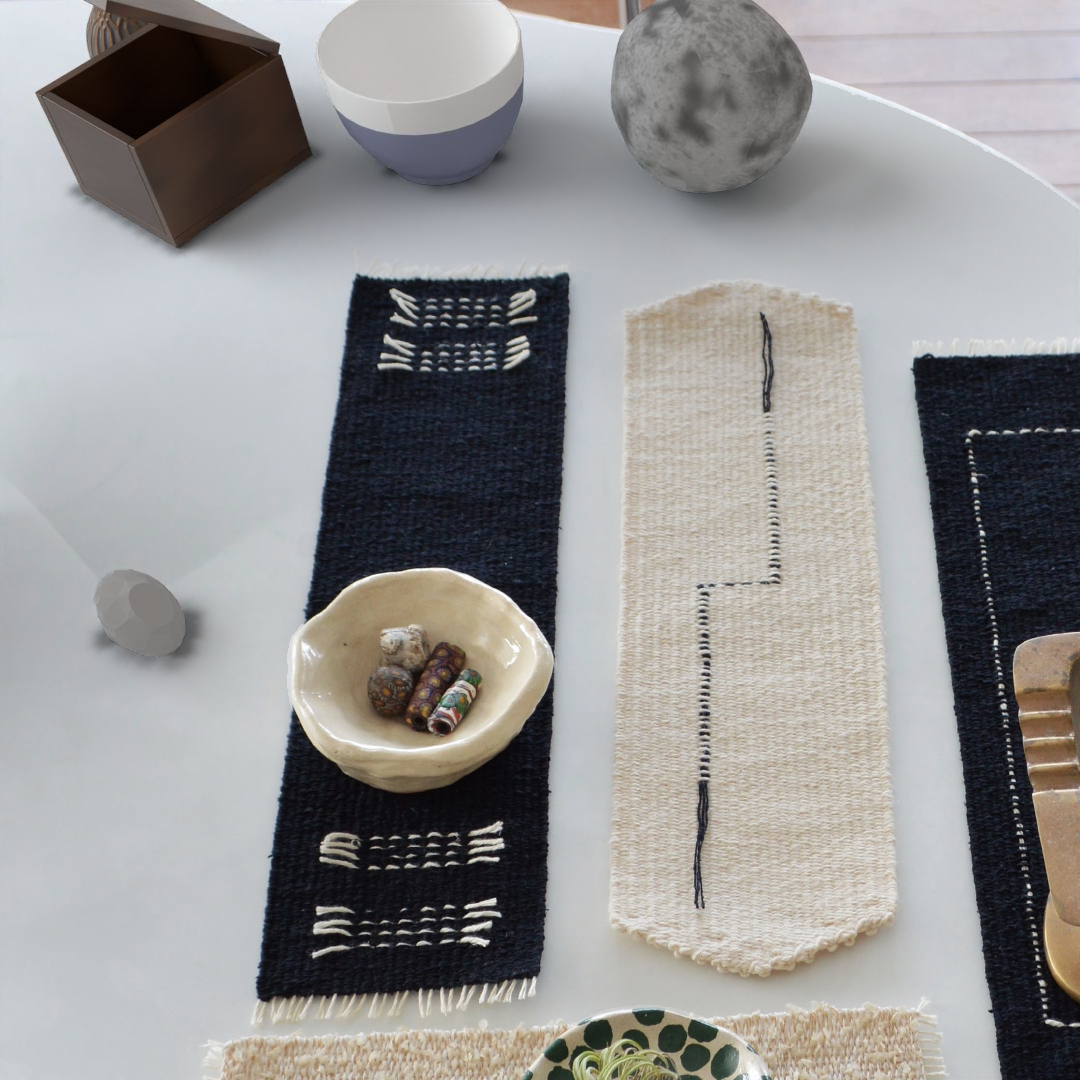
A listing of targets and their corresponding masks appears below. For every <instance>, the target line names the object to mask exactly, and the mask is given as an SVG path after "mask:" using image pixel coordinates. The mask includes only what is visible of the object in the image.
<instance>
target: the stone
mask: <svg viewBox="0 0 1080 1080" xmlns="http://www.w3.org/2000/svg"><path fill="white" fill-rule="evenodd" d="M610 81H611V83H610V104H611V105H610V106H611V110H612V114H613V117H614V120H615V122H616V125H617V127H618V130H619V132H620V135H621V137H622V139H623V141H624V143H625V145H626V147H627V149H628V150H629V152H630V154H631V156H633V158H634V159H635V161H636V162H637V164H638V165H639V166H640V167H641V168H642V169H643V170H644V171H645V172H647V173H648V174H649V175H650V176H652V177H653V179H655V180H656V181H658V182H660V183H661V184H663V185H665V186H666V187H668V188H670V189H672V190H676V191H681V192H687V193H697V194H705V193H707V194H708V193H716V192H717V193H718V192H723V191H729V190H734V189H738V188H740V187H743V186H746V185H747V184H750V183H752V182H755V181H756V180H757V181H758V179H760V178H762V177H763V176H765V175H766V174H768V173H769V172H770V171H771V170H773V169H774V168H775V167H777V166H778V165H779V164H780V162H781V161H782V160H783V159H784V158H785V157H786V156H787V154H788V153H789V152H790V150H791V149H792V147H793V146H794V144H795V142H796V141H797V138H798V137H799V135H800V134H801V131H802V129H803V126H804V124H805V122H806V120H807V117H808V114H809V111H810V108H811V106H812V101H813V93H814V92H813V91H814V88H813V82H812V77H811V74H810V72H809V69H808V66H807V64H806V60H805V59H804V57H803V54H802V51H801V50H800V49H799V47H798V45H797V44H796V42H795V41H794V39H793V38H792V37H791V36H790V34H789V33H788V31H786V29H785V28H784V27H783V26H782V25H781V24H780V23H779V22H778V21H777V20H776V18H775V17H773V15H771V14H770V13H769V12H768V11H766V10H765V8H763V7H762V6H760V5H759V4H758V3H757V2H755V1H754V0H655V1H653V2H652V3H651V4H649V5H648V6H647V7H645V8H643V9H642V10H641V11H640V12H639V13H638V14H637V15H636V16H635V17H634V18H633V19H631V20H630V22H628V24H627V26H625V28H624V29H623V31H622V33H621V35H620V36H619V39H618V42H617V45H616V49H615V54H614V58H613V63H612V70H611V80H610Z"/></svg>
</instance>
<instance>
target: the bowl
mask: <svg viewBox="0 0 1080 1080" xmlns="http://www.w3.org/2000/svg"><path fill="white" fill-rule="evenodd" d="M318 35H319V36H318V38H317V41H316V43H315V53H314V56H315V57H314V58H315V62H316V65H317V70H318V72H319V75H320V78H321V80H322V83H323V86H324V88H325V91H326V93H327V96H328V99H329V101H330V102H331V104H332V106H333V108H334V110H335V111H336V114H337V115H338V117H339V119H340V121H341V123H342V126H344V128H345V130H346V131H347V133H348V135H350V137H351V138H352V139H354V141H355V142H356V143H357V144H358V145H359V146H360V147H361V148H362V149H363V150H364V151H365V152H366V153H367V154H368V155H369V156H370V157H372V159H374V160H375V161H376V162H378V163H379V164H381V165H383V166H384V167H386V168H388V169H391V170H393V171H394V172H395V173H396V174H398V175H399V176H400V177H402V178H404V179H406V180H407V181H410V182H413V183H416V184H421V185H429V186H444V185H445V186H446V185H452V184H457V183H461V182H464V181H466V180H469V179H471V178H473V177H475V176H477V175H479V174H480V173H482V172H484V171H485V170H486V169H487V168H488V167H490V165H491V164H492V163H493V161H494V160H495V158H496V156H497V153H499V151H500V150H501V149H502V148H503V147H504V146H505V145H506V144H507V142H508V140H509V139H510V138H511V136H512V133H513V130H514V128H515V125H516V123H517V120H518V117H519V114H520V112H521V108H522V106H523V101H524V81H525V80H524V79H525V77H524V76H525V60H524V49H523V48H524V47H523V39H522V30H521V27H520V24H519V22H518V20H517V17H516V16H515V14H513V12H512V11H511V10H510V9H509V7H507V5H505V4H504V3H503V2H501V1H500V0H355V1H353V2H351V3H350V4H348V5H347V6H345V7H344V8H342V9H340V10H339V11H338V12H336V14H335V15H334V16H332V17H331V18H330V19H329V20H328V21H327V23H326V24H325V26H324V27H323V28H322V29H321V31H320V33H319V34H318Z"/></svg>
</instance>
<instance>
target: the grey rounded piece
mask: <svg viewBox="0 0 1080 1080" xmlns="http://www.w3.org/2000/svg"><path fill="white" fill-rule="evenodd" d="M95 587H96V588H95V593H94V597H93V602H94V605H95V607H96V613H97V618H98V621H99V622H100V624H101V626H102V627H103V630H104V632H105V633H106V635H107V637H108V639H109V640H111V641H112V642H114V643H116V644H118V645H119V646H121V647H122V648H124V649H127V650H130V651H132V652H134V653H137V654H139V655H140V656H145V657H147V656H148V657H158V658H161V657H163V656H166V655H170V654H172V653H175V652H176V650H177V649H178V648H180V647H181V645H182V642H183V641H184V638H185V636H186V633H187V629H186V616H185V613H184V611H183V608H182V606H181V604H180V602H179V600H178V599H177V597H175V595H174V593H172V591H171V590H169V588H168V587H167V586H166V585H165V584H163V583H162V582H161V581H159V579H156V578H155V577H153V576H152V575H150V574H147V573H145V572H141V571H138V570H135V569H132V568H131V569H130V568H129V569H115V570H113V571H110V572H108V573H107V574H105V575H104V576H102V577H101V578H100V580H99V581H98V583H97V584H96V586H95Z"/></svg>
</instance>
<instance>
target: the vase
mask: <svg viewBox="0 0 1080 1080" xmlns="http://www.w3.org/2000/svg"><path fill="white" fill-rule="evenodd" d="M148 24H150V23H149V22H145V21H141V20H136V19H132V18H128V17H124V16H120V15H116V14H112V13H108V12H105V11H103V10H101V9H99V8H97V7H95V6H93V5H92V7H91V11H90V13H89V16H88V19H87V23H86V28H85V39H86V40H85V41H86V47H87V52H88V57H89V60H90V59H91V58H93V57H95V56H96V55H98V54H100V53H101V52H103V51H105V50H106V49H108V48H110V47H111V46H113V45H115V44H116V43H118V42H120V41H121V40H123V39H125V38H126V37H128V36H130V35H131V34H133V33H135V32H136V31H138V30H140V29H141V28H143V27H145V26H146V25H148Z"/></svg>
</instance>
